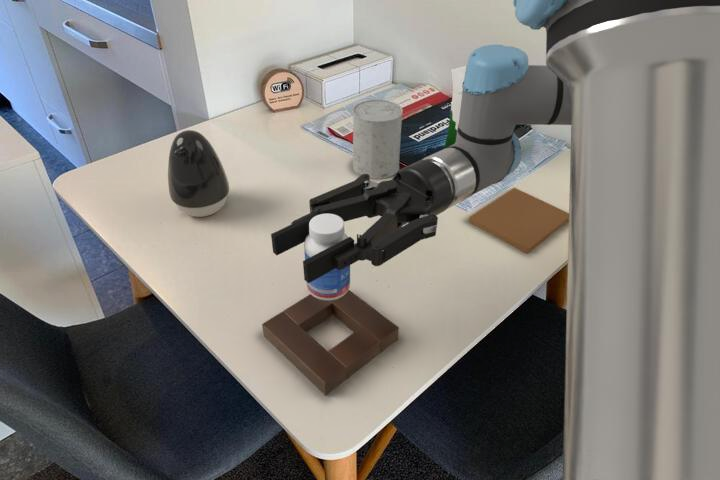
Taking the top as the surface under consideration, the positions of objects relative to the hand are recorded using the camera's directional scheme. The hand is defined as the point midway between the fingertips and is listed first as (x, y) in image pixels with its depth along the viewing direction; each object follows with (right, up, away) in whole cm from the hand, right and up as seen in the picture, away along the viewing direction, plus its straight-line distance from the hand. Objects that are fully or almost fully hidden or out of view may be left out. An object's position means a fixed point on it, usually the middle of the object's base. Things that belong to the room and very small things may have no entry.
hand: (289, 258), depth 58 cm
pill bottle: (+4, -4, +7) cm, 9 cm away
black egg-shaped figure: (-21, +8, +37) cm, 43 cm away
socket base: (+4, -11, +13) cm, 18 cm away
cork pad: (+36, +5, +35) cm, 51 cm away
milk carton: (+30, +20, +53) cm, 65 cm away
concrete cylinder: (+11, +17, +49) cm, 53 cm away
